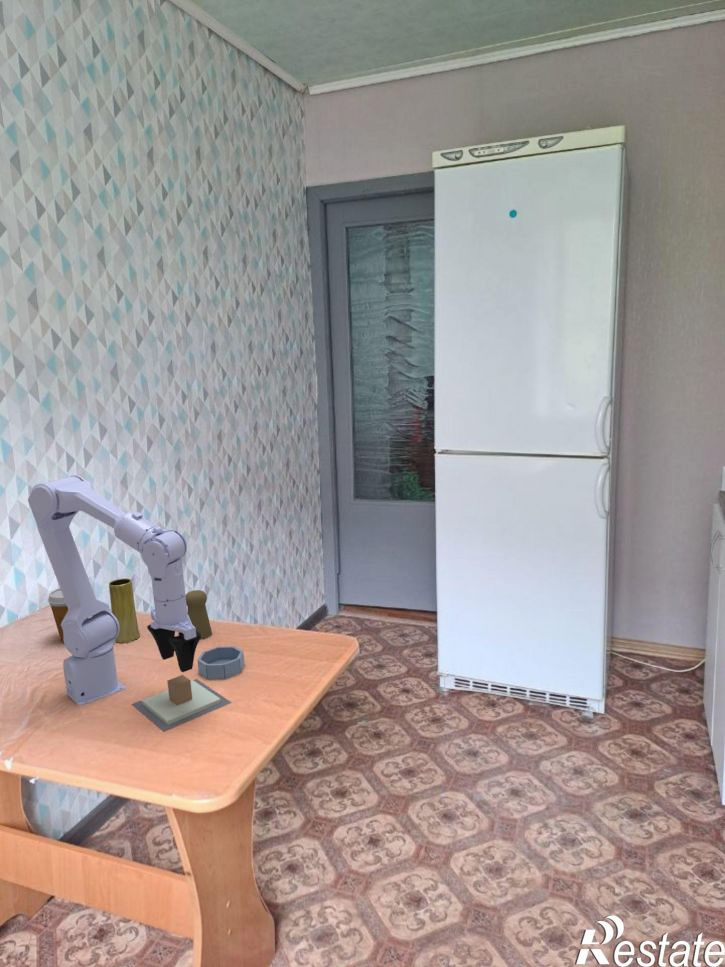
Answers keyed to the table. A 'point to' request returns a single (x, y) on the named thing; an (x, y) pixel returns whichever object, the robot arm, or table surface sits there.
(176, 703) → the lid
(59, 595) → the disposable coffee cup
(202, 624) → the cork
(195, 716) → the mat
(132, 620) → the vase
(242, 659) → the bowl
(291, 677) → the table surface
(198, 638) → the robot arm
